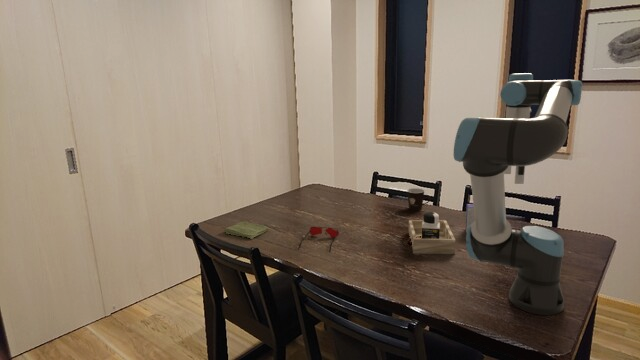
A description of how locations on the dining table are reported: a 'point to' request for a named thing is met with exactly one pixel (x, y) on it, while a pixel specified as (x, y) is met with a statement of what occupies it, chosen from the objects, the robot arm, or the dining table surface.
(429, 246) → the birch box
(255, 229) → the washcloth
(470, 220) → the ink cartridge box
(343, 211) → the dining table surface
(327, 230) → the glasses
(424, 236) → the medicine bottle
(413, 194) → the coffee mug
